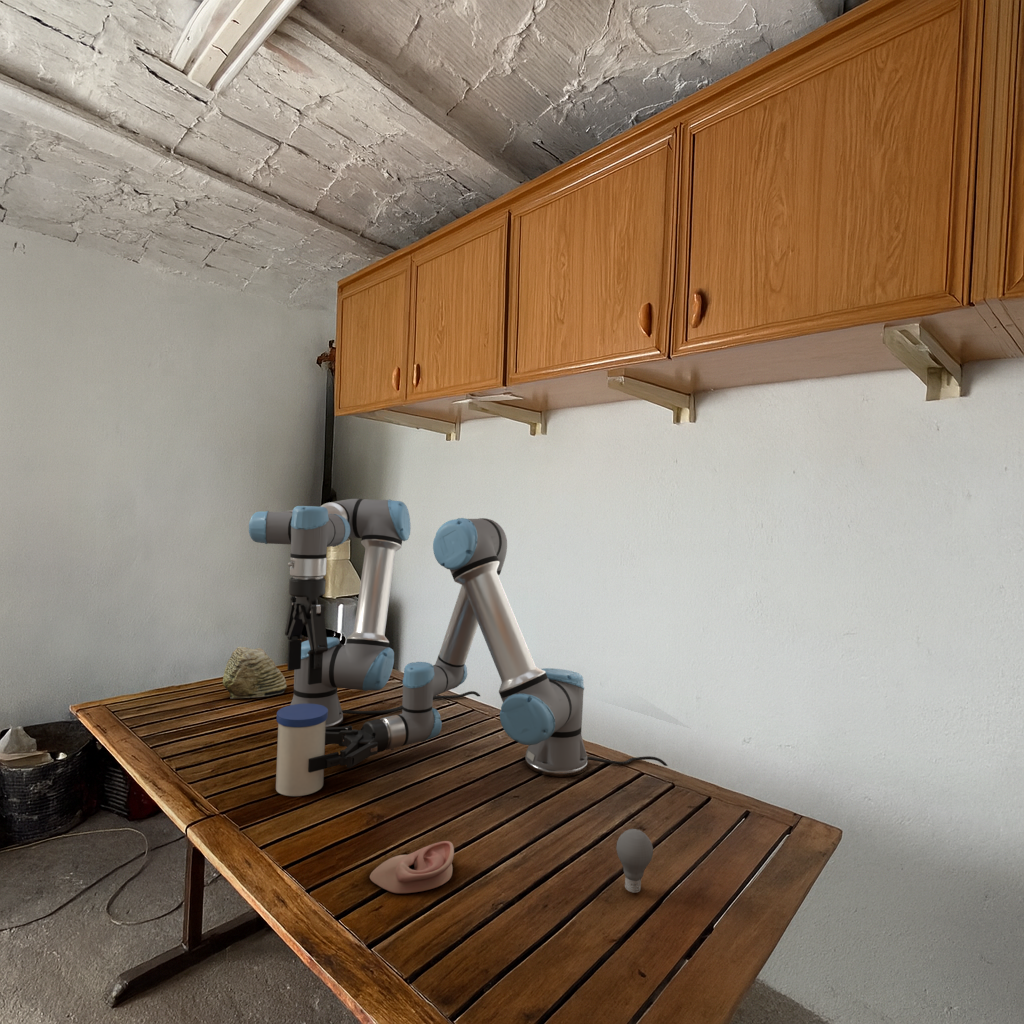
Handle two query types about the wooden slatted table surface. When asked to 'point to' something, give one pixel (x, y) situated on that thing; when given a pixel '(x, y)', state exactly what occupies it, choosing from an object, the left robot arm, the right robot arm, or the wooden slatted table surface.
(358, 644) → the left robot arm
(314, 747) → the jar
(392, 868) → the anatomical model
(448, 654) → the right robot arm
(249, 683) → the fossil
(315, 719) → the lid
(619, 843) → the light bulb
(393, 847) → the wooden slatted table surface
